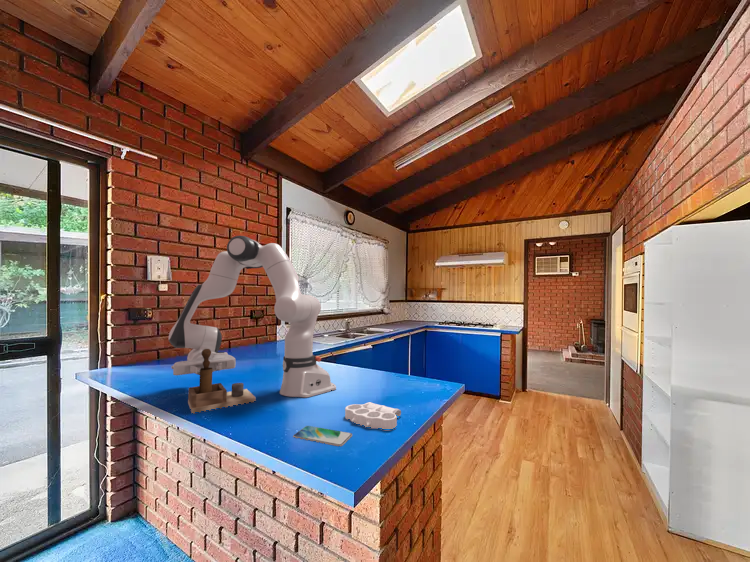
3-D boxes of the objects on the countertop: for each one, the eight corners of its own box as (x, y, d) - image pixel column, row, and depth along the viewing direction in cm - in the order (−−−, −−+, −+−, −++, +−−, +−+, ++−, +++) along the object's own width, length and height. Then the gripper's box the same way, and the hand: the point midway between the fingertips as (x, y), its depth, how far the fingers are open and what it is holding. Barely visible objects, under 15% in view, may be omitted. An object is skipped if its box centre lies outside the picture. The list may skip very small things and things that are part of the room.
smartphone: (341, 445, 79) (292, 435, 84) (341, 448, 79) (291, 439, 84) (353, 433, 86) (306, 425, 91) (353, 436, 86) (306, 428, 91)
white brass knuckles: (409, 419, 97) (384, 437, 85) (364, 408, 108) (335, 422, 96) (409, 409, 97) (384, 424, 85) (364, 398, 108) (335, 410, 96)
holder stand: (246, 392, 123) (246, 378, 123) (255, 401, 112) (255, 386, 113) (187, 402, 111) (188, 387, 111) (191, 413, 101) (192, 396, 101)
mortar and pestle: (219, 397, 112) (220, 347, 113) (208, 404, 105) (209, 350, 106) (202, 397, 112) (203, 347, 113) (190, 403, 106) (191, 350, 107)
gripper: (171, 357, 114) (173, 364, 103) (231, 351, 126) (239, 357, 115) (170, 374, 114) (172, 383, 103) (230, 367, 126) (238, 374, 115)
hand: (208, 369), depth 109 cm, fingers open, 5 cm apart
